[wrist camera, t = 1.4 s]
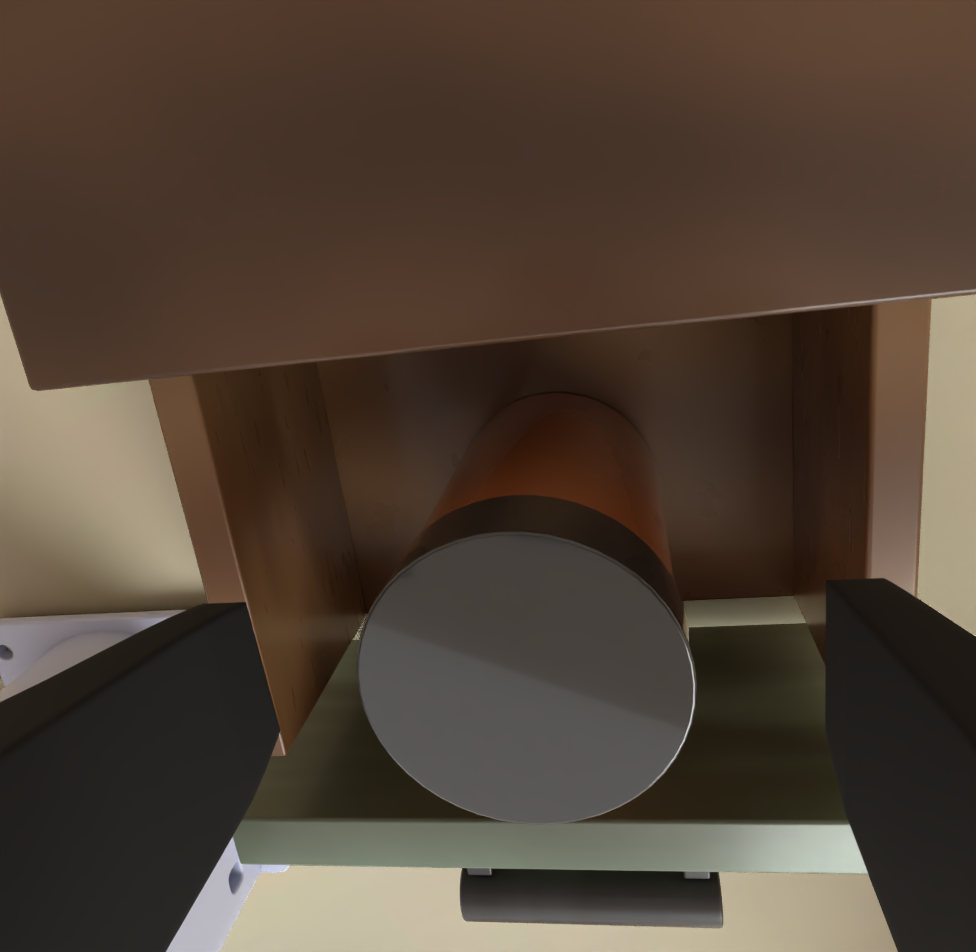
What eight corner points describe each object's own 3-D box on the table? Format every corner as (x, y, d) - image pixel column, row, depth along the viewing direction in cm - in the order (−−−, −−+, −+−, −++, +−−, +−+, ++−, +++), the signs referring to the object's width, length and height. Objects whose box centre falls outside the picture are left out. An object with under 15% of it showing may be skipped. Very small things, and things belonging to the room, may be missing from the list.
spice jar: (669, 576, 19) (704, 827, 12) (471, 585, 20) (385, 825, 12) (657, 378, 18) (689, 520, 10) (442, 397, 18) (326, 542, 11)
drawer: (845, 800, 22) (939, 1053, 15) (369, 800, 24) (283, 1019, 18) (856, 129, 16) (1010, 93, 10) (244, 214, 19) (56, 229, 12)
